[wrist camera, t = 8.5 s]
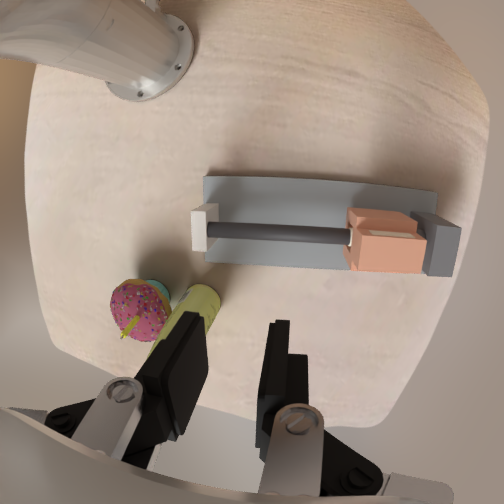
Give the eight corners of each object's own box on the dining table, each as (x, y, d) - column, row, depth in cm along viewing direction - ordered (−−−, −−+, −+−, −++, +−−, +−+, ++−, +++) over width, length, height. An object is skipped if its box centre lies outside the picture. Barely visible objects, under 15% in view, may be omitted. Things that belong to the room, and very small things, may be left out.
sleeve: (342, 253, 30) (355, 281, 23) (347, 207, 29) (363, 223, 21) (393, 256, 29) (418, 284, 22) (399, 211, 28) (428, 228, 21)
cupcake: (156, 255, 36) (105, 296, 25) (195, 307, 38) (160, 363, 26) (118, 285, 39) (68, 327, 27) (154, 330, 40) (115, 382, 29)
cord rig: (207, 258, 35) (185, 286, 28) (205, 175, 32) (179, 181, 25) (422, 270, 32) (449, 299, 24) (434, 191, 29) (469, 202, 21)
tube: (230, 314, 37) (181, 433, 19) (197, 324, 39) (137, 433, 20) (210, 277, 36) (139, 384, 18) (178, 289, 37) (97, 388, 19)
